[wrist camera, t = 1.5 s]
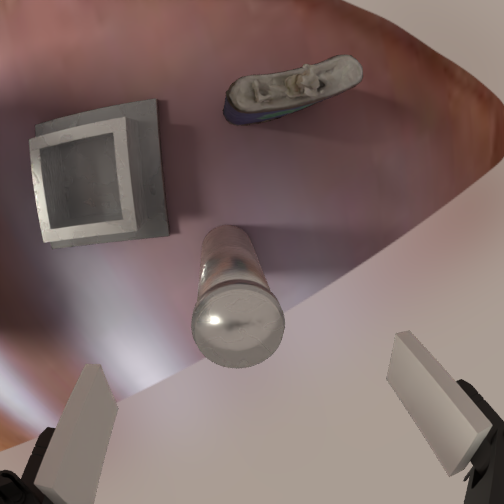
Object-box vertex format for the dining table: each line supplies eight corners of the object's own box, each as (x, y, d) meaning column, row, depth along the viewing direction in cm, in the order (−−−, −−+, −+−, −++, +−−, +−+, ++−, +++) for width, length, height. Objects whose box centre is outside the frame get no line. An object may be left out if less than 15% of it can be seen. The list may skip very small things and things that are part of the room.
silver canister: (202, 277, 30) (198, 374, 17) (196, 225, 28) (183, 295, 15) (255, 272, 31) (287, 365, 17) (252, 220, 29) (286, 285, 16)
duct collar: (55, 246, 27) (32, 263, 23) (39, 125, 23) (12, 124, 19) (170, 233, 28) (162, 250, 24) (157, 99, 24) (146, 90, 20)
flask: (317, 75, 25) (370, 44, 15) (327, 104, 26) (385, 88, 16) (218, 102, 25) (220, 77, 15) (229, 133, 26) (238, 126, 16)
